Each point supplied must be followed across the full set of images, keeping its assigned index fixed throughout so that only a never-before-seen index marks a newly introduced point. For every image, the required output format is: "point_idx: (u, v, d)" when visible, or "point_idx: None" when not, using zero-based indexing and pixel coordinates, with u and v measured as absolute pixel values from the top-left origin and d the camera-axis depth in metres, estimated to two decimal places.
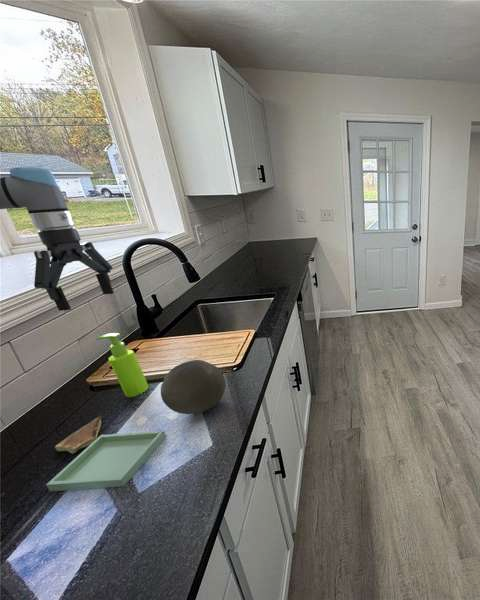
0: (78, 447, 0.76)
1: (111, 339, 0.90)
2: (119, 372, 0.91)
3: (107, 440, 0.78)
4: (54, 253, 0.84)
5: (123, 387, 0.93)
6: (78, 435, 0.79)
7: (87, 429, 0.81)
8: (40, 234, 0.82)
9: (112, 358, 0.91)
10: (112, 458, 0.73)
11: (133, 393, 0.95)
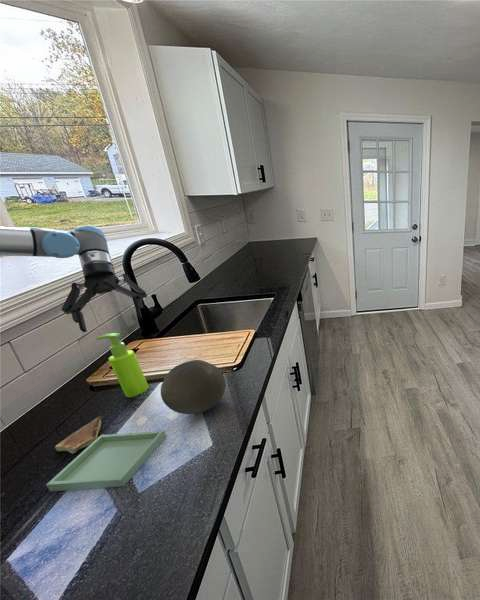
0: (78, 447, 0.76)
1: (111, 339, 0.90)
2: (119, 372, 0.91)
3: (107, 440, 0.78)
4: (84, 284, 0.99)
5: (123, 387, 0.93)
6: (78, 435, 0.79)
7: (87, 429, 0.81)
8: None
9: (112, 358, 0.91)
10: (112, 458, 0.73)
11: (133, 393, 0.95)
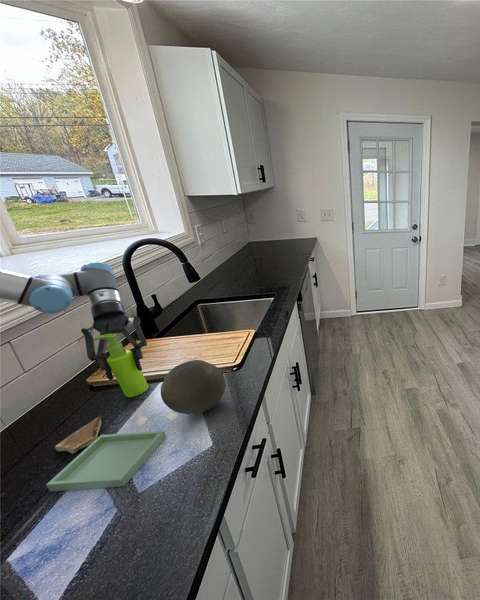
0: (78, 447, 0.76)
1: (108, 340, 0.89)
2: (118, 372, 0.91)
3: (107, 440, 0.78)
4: (94, 327, 0.93)
5: (123, 387, 0.93)
6: (78, 435, 0.79)
7: (87, 429, 0.81)
8: None
9: (110, 359, 0.90)
10: (112, 458, 0.73)
11: (133, 393, 0.95)
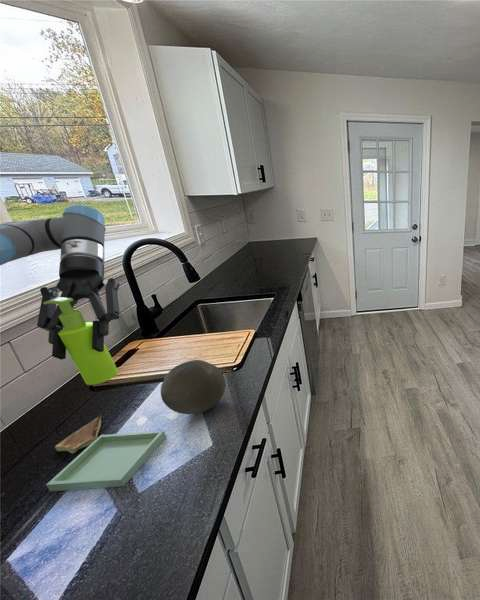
0: (78, 447, 0.76)
1: (59, 305, 0.66)
2: (71, 350, 0.67)
3: (107, 440, 0.78)
4: (58, 287, 0.71)
5: (79, 371, 0.70)
6: (78, 435, 0.79)
7: (87, 429, 0.81)
8: None
9: (62, 331, 0.67)
10: (112, 458, 0.73)
11: (92, 380, 0.70)
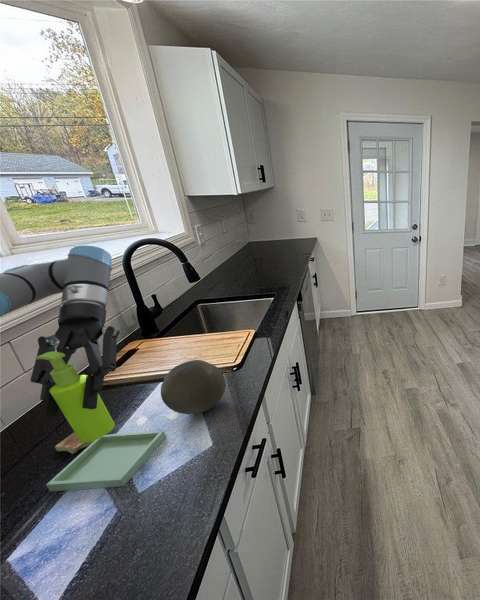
0: (78, 447, 0.76)
1: (50, 362, 0.61)
2: (62, 408, 0.63)
3: (107, 440, 0.78)
4: (56, 336, 0.67)
5: (72, 428, 0.65)
6: None
7: None
8: None
9: (54, 388, 0.62)
10: (112, 458, 0.73)
11: (84, 438, 0.66)
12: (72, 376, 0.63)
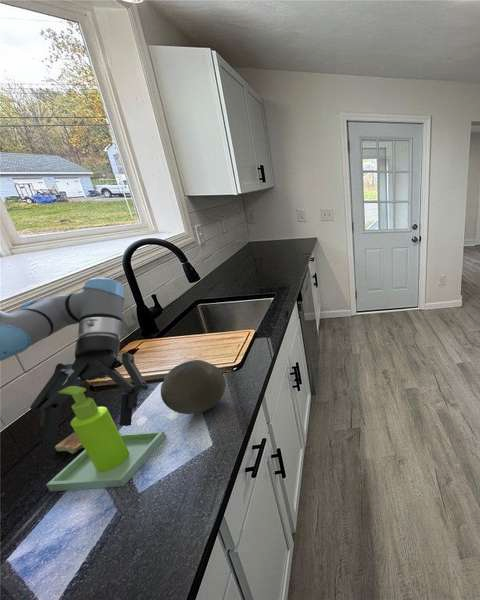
0: (78, 447, 0.76)
1: (73, 396, 0.65)
2: (81, 440, 0.66)
3: None
4: (72, 367, 0.70)
5: (90, 457, 0.69)
6: None
7: None
8: None
9: (75, 420, 0.66)
10: None
11: (101, 467, 0.69)
12: (92, 409, 0.66)
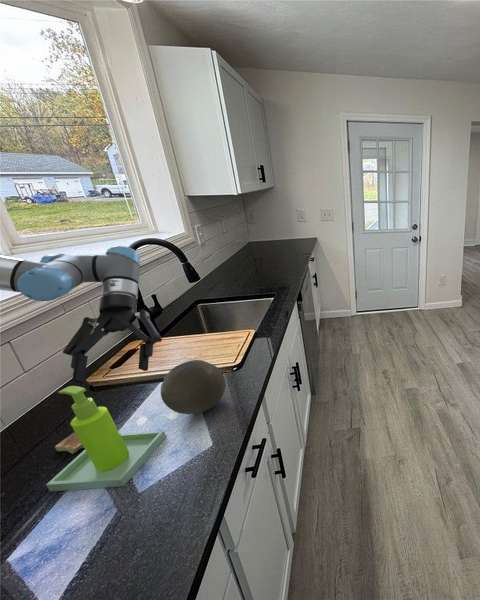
0: (78, 447, 0.76)
1: (72, 396, 0.65)
2: (81, 440, 0.66)
3: None
4: (97, 320, 0.82)
5: (90, 457, 0.69)
6: None
7: None
8: None
9: (74, 420, 0.66)
10: None
11: (101, 467, 0.69)
12: (92, 409, 0.66)
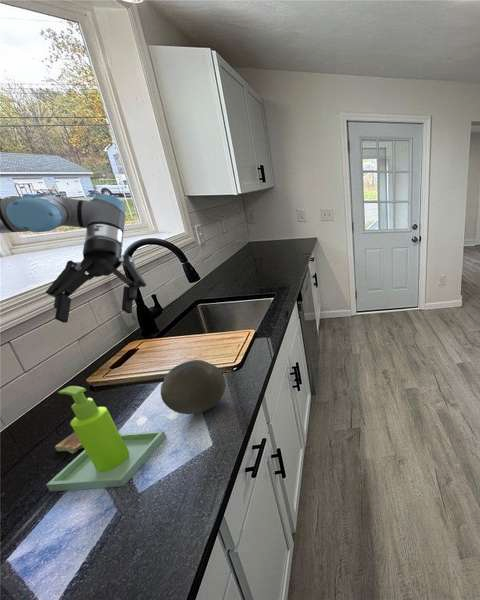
0: (78, 447, 0.76)
1: (72, 396, 0.65)
2: (81, 440, 0.66)
3: None
4: (80, 264, 0.82)
5: None
6: None
7: None
8: None
9: (74, 420, 0.66)
10: None
11: (101, 467, 0.69)
12: (92, 409, 0.66)
